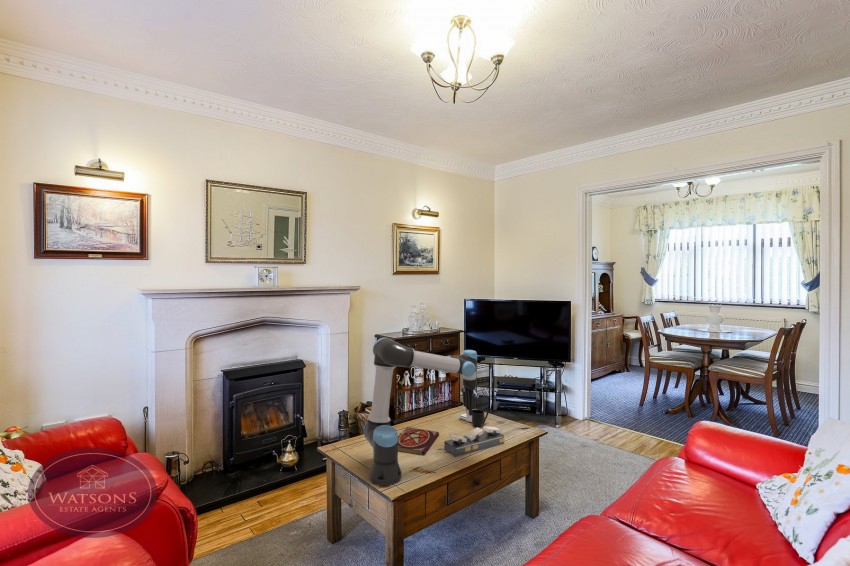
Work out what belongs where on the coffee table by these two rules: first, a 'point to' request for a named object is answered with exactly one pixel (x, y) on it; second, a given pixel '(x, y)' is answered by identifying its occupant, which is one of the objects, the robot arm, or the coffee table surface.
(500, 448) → the coffee table surface
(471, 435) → the white rectangular block
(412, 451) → the book
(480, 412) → the mug
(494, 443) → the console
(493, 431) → the block
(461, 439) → the block
